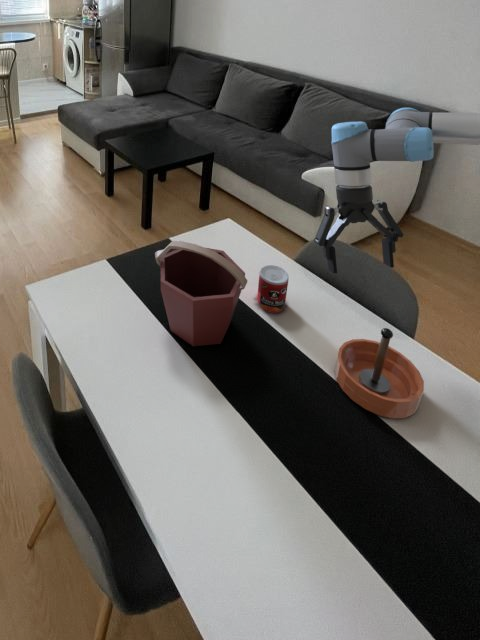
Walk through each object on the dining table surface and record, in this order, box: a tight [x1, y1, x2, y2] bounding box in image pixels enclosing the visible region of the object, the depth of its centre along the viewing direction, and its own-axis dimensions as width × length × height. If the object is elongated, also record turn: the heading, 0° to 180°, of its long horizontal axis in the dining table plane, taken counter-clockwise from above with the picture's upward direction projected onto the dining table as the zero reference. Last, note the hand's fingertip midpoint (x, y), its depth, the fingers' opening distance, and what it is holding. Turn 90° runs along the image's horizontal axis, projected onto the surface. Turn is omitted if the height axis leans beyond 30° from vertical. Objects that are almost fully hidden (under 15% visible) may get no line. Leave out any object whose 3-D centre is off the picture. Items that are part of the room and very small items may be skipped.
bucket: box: [154, 240, 248, 347], centre depth 118 cm, size 24×22×25 cm
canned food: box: [256, 264, 290, 314], centre depth 125 cm, size 8×8×11 cm
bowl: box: [334, 338, 425, 419], centre depth 100 cm, size 16×16×6 cm
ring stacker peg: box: [359, 327, 394, 396], centre depth 98 cm, size 6×6×17 cm
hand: (360, 268), depth 106 cm, fingers open, 13 cm apart
